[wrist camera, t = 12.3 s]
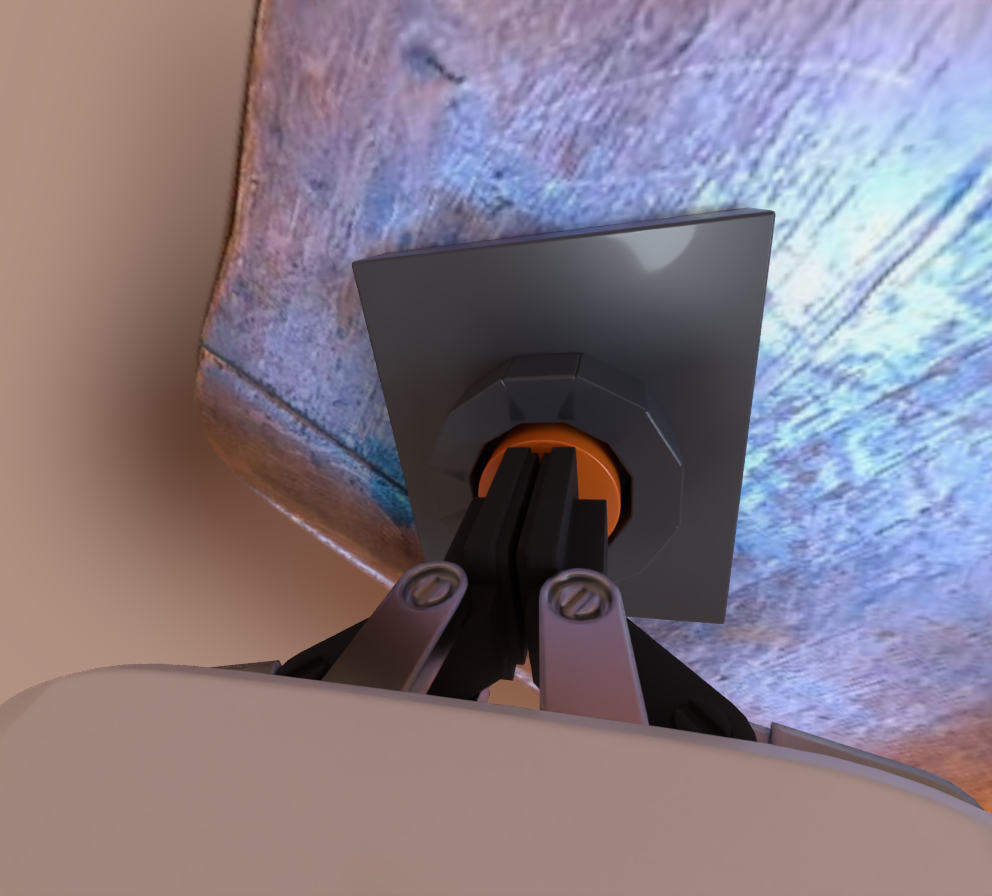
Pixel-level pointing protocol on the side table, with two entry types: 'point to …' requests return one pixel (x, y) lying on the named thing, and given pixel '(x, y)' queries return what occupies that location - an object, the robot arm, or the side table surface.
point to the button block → (586, 379)
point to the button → (593, 461)
